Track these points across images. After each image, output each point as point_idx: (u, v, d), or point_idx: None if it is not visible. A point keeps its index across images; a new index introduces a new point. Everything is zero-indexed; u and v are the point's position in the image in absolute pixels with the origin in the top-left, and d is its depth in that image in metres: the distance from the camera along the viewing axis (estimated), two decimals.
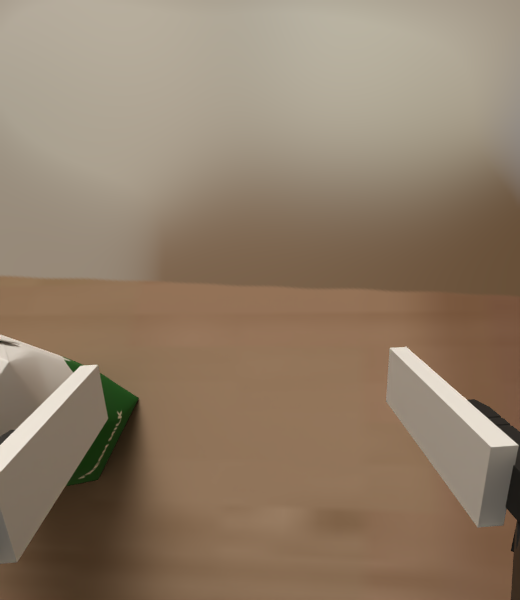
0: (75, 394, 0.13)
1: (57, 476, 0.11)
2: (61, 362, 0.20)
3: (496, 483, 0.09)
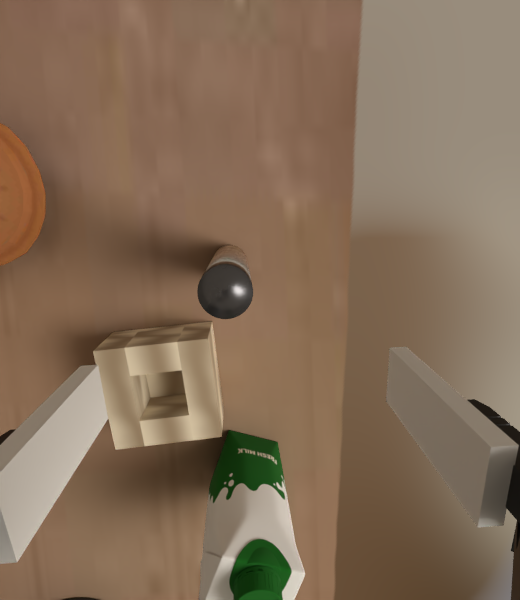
0: (76, 395, 0.13)
1: (57, 476, 0.11)
2: None
3: (496, 483, 0.09)
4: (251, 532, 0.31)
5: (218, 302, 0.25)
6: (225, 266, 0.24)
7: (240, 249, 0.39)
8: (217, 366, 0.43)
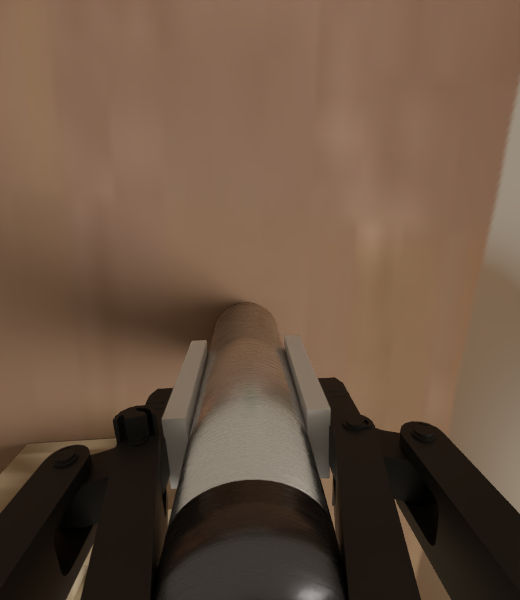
0: (202, 362, 0.15)
1: None
2: None
3: (317, 441, 0.11)
4: None
5: None
6: (261, 580, 0.06)
7: (268, 314, 0.20)
8: None
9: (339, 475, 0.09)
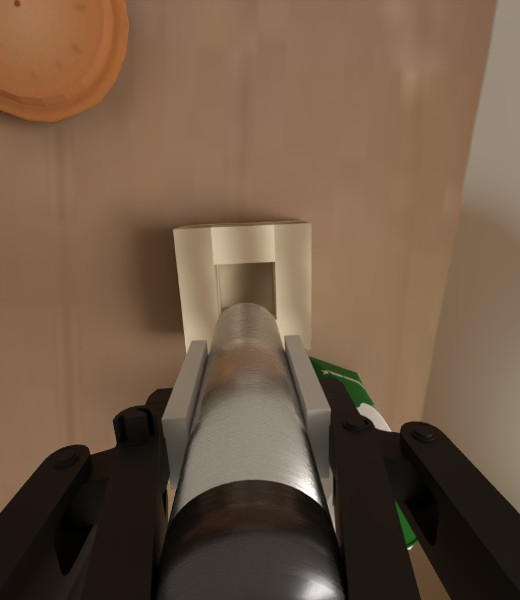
0: (202, 362, 0.15)
1: None
2: None
3: (317, 441, 0.11)
4: None
5: None
6: (261, 581, 0.05)
7: (268, 314, 0.20)
8: None
9: (339, 475, 0.09)
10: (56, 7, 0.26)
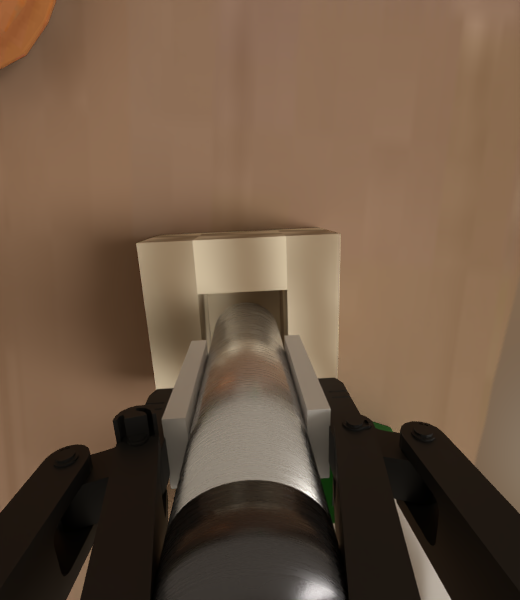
0: (202, 362, 0.15)
1: None
2: None
3: (317, 441, 0.11)
4: None
5: None
6: (262, 582, 0.05)
7: (268, 314, 0.20)
8: None
9: (339, 475, 0.09)
10: None
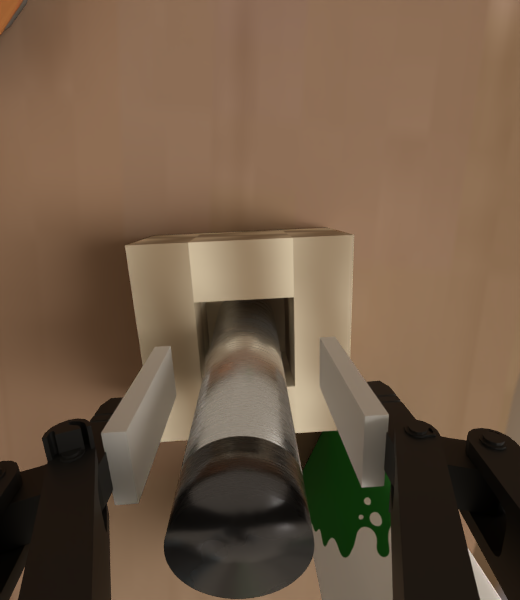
0: (160, 369, 0.15)
1: (154, 438, 0.13)
2: None
3: (373, 448, 0.11)
4: None
5: (219, 568, 0.09)
6: (244, 496, 0.08)
7: (265, 302, 0.23)
8: None
9: (398, 480, 0.08)
10: None
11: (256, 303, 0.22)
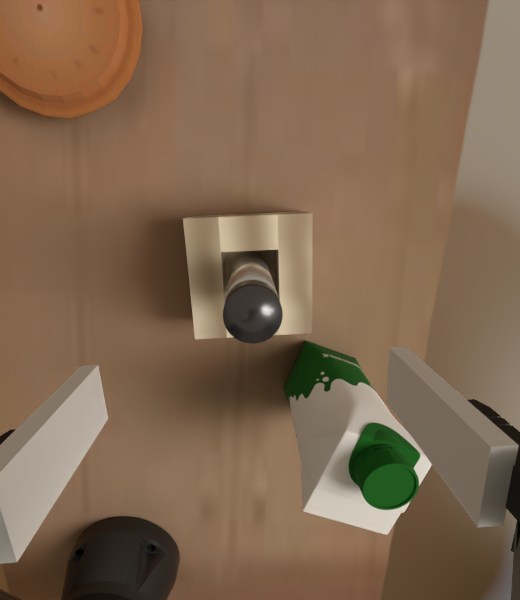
0: (75, 394, 0.13)
1: (57, 476, 0.11)
2: None
3: (496, 483, 0.09)
4: (367, 416, 0.27)
5: (244, 325, 0.23)
6: (254, 288, 0.22)
7: (262, 257, 0.37)
8: None
9: None
10: (75, 11, 0.28)
11: (257, 255, 0.36)
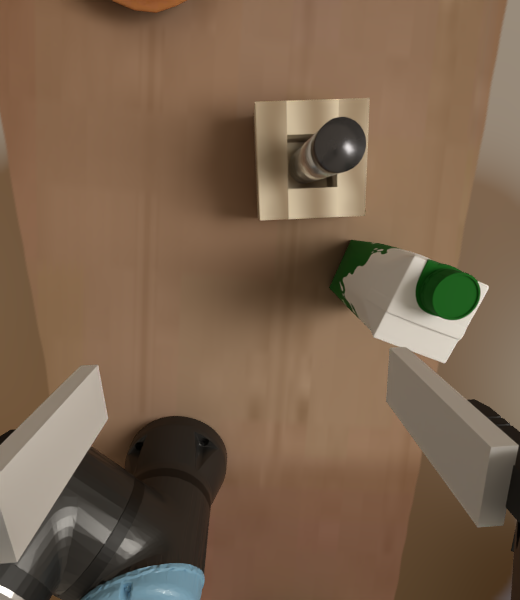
0: (75, 395, 0.13)
1: (57, 476, 0.11)
2: None
3: (496, 483, 0.09)
4: (427, 258, 0.31)
5: (333, 154, 0.27)
6: (344, 118, 0.26)
7: None
8: None
9: None
10: None
11: None
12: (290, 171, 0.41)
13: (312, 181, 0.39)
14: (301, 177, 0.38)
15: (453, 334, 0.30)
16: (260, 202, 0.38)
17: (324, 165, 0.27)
